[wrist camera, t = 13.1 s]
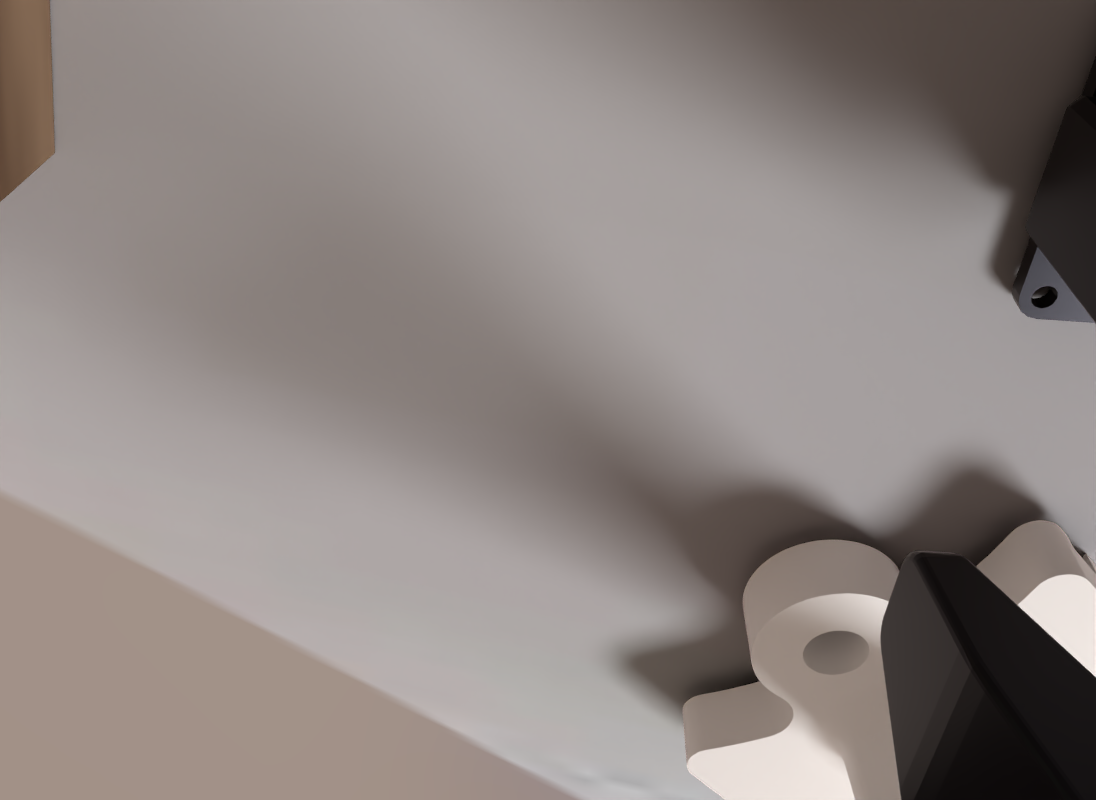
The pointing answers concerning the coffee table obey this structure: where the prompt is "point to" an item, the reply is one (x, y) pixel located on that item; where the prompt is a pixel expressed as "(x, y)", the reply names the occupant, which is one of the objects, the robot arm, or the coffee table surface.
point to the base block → (24, 90)
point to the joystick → (852, 665)
